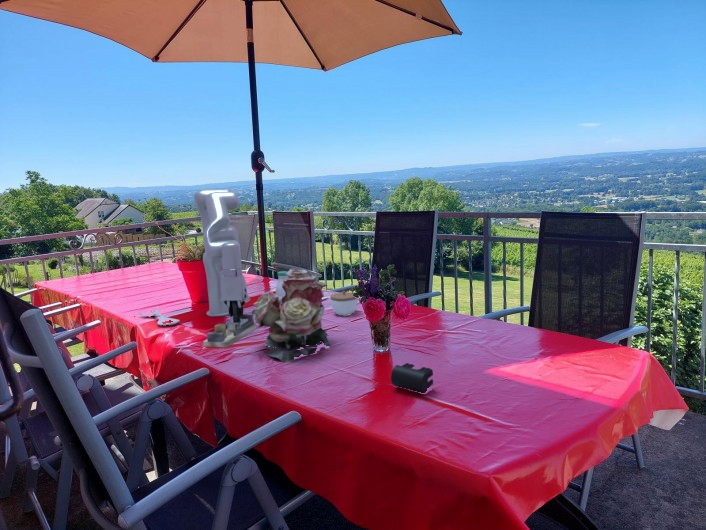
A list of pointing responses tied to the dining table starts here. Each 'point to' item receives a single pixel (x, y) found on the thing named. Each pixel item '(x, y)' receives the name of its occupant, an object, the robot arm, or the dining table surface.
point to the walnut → (221, 329)
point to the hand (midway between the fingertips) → (236, 315)
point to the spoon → (161, 318)
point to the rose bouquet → (293, 315)
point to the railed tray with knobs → (230, 334)
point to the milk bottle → (279, 288)
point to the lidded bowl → (344, 303)
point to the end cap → (412, 377)
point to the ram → (235, 319)
